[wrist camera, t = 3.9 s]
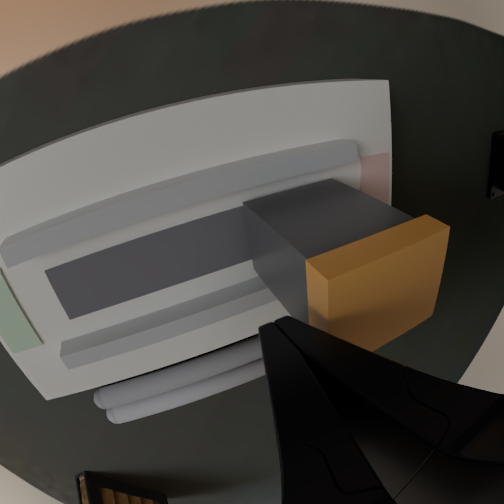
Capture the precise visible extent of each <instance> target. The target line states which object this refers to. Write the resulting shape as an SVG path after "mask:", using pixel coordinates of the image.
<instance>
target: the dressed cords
mask: <svg viewBox="0 0 504 504" xmlns="http://www.w3.org/2000/svg"><path fill="white" fill-rule="evenodd" d="M263 375H266V374H265V368H264V362H263V356H262V350H261V344H260V338H259V335H257V336H255V337H252V338H249V339H247V340H244V341H241V342H239V343H236V344H233V345H231V346H228V347H225V348H223V349H220V350H217V351H214V352H212V353H209V354H206V355H203V356H200V357H197V358H195V359H192V360H189V361H186V362H183V363H180V364H177V365H174V366H171V367H168V368H165V369H162V370H159V371H155V372H152V373H149V374H146V375H143V376H140V377H136V378H133V379H130V380H126V381H123V382H120V383H116V384H113V385H109V386H106V387H102V388H99V389H98V390H96V392H95V393H94V401H95V403H96V405H97V406H98V407H100V408H102V409H107V412H106V414H107V417H108V419H109V420H110V421H111V422H113V423H115V424H121V423H124V422H128V421H132V420H135V419H139V418H142V417H146V416H149V415H153V414H156V413H159V412H163V411H166V410H169V409H172V408H175V407H179V406H182V405H185V404H188V403H191V402H194V401H197V400H200V399H202V398H205V397H208V396H211V395H214V394H217V393H219V392H222V391H225V390H228V389H230V388H233V387H236V386H238V385H241V384H243V383H246V382H248V381H251V380H254V379H256V378H259V377H261V376H263Z"/></svg>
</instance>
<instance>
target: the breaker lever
mask: <svg viewBox="0 0 504 504" xmlns="http://www.w3.org/2000/svg"><path fill="white" fill-rule="evenodd" d="M242 203H243V209H244V215H245V221H246V227H247V232H248V238H249V244H250V250H251V256H252V262H253V268H254V270H255V271H256V273H257V274H258V275H259V276H260V278H261V279H262V280H263V281H264V283H265V284H266V285H267V286H268V288H269V289H270V290H271V292H272V293H273V294H274V295H275V297H276V298H277V299H278V300H279V302H280V303H281V304H282V305H283V307H284V308H285V309H286V310H287V312H288V313H289V314H290V315H291V317H293V318H296V319H298V320H300V321H302V322H304V323H307V324H309V325H311V326H313V327H316V328H318V329H320V330H322V331H325V332H327V333H329V334H332V335H334V336H336V337H338V338H341V339H343V340H345V341H348V342H350V343H352V344H355V345H357V346H359V347H362V348H364V349H366V350H369V351H371V352H372V351H374V350H376V349H377V348H379V347H381V346H383V345H384V344H386V343H388V342H390V341H391V340H393V339H395V338H396V337H398V336H400V335H402V334H403V333H405V332H406V331H408V330H410V329H411V328H413V327H415V326H416V325H418V324H419V323H421V322H423V321H424V320H426V319H427V318H429V317H430V316H432V314H433V310H434V306H435V302H436V298H437V294H438V289H439V285H440V280H441V276H442V271H443V266H444V261H445V255H446V250H447V244H448V238H449V231H450V226H448V225H446V224H444V223H442V222H440V221H438V220H436V219H434V218H433V217H431V216H429V215H427V214H426V215H423V216H420V217H418V218H413V217H412V216H410V215H408V214H406V213H404V212H402V211H400V210H398V209H396V208H394V207H392V206H390V205H388V204H386V203H384V202H382V201H380V200H378V199H376V198H374V197H372V196H369V195H367V194H365V193H363V192H361V191H359V190H357V189H355V188H352V187H350V186H348V185H346V184H344V183H341V182H339V181H337V180H335V179H333V178H331V179H327V180H323V181H319V182H315V183H311V184H307V185H304V186H300V187H296V188H292V189H289V190H285V191H281V192H277V193H274V194H270V195H267V196H263V197H259V198H256V199H252V200H249V201H245V202H242Z"/></svg>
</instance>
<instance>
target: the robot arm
mask: <svg viewBox="0 0 504 504" xmlns="http://www.w3.org/2000/svg"><path fill="white" fill-rule="evenodd" d="M503 194H504V131H499V132H494V134H493V144H492V158H491V169H490V179H489V187H488V198H490V199H494V198H496V197H498V196H501V195H503ZM258 332H259V338H260V344H261V350H262V356H263V362H264V368H265V374H266V380H267V386H268V392H269V398H270V404H271V410H272V416H273V422H274V428H275V433H276V440H277V446H278V453H279V461H280V469H281V489H282V504H504V394H498V393H493V392H489V391H485V390H481V389H477V388H473V387H469V386H464V385H460V384H457V383H453V382H450V381H447V380H443V379H440V378H437V377H434V376H431V375H428V374H426V373H423V372H420V371H417V370H415V369H412V368H410V367H408V366H404V367H403V365H402V364H400V363H397V362H395V361H393V360H390V359H388V358H385V357H383V356H381V355H378V354H376V353H373V352H371V351H369V350H366V349H364V348H362V347H359V346H357V345H355V344H352V343H350V342H348V341H345V340H343V339H341V338H338V337H336V336H334V335H332V334H329V333H327V332H325V331H322V330H320V329H318V328H316V327H313V326H311V325H309V324H307V323H304V322H302V321H300V320H298V319H296V318H293V317H291V316H284V317H281V318H279V319H276V320H275V321H274V322H269V323H266V324H264V325H261V326H259V327H258Z"/></svg>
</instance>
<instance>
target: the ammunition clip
mask: <svg viewBox="0 0 504 504" xmlns="http://www.w3.org/2000/svg"><path fill="white" fill-rule="evenodd" d="M75 479H76V486H77V492H78V498H79V504H168V501H167V497H166V495H165V494H162V493H158V492H154V491H150V490H146V489H142V488H138V487H135V486H131V485H127V484H124V483H121V482H117V481H114V480H111V479H108V478H105V477H102V476H99V475H96V474H93V473H90V472H88V471H84V472H82V473H81V474H79V475H77V476H75Z"/></svg>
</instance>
